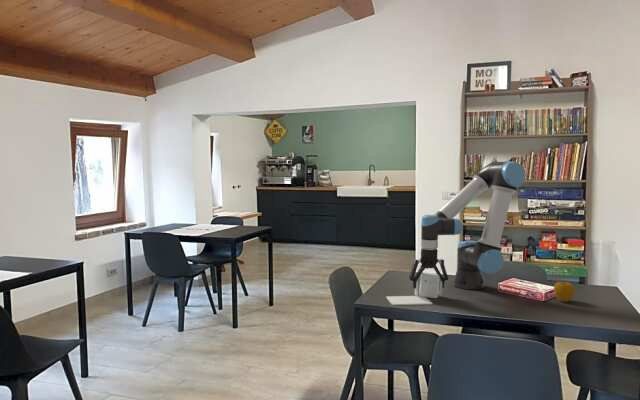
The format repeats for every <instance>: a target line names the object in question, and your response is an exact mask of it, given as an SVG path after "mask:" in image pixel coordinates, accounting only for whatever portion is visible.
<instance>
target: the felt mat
mask: <svg viewBox="0 0 640 400" xmlns="http://www.w3.org/2000/svg"><path fill="white" fill-rule="evenodd" d="M385 298H386V299H387V300H388V302H389V304H391V305H392V306H420V305H421V306H427V305H429V306H430V305H433V302H431V300H429V299H428V297H421V296H420V295H418V296H416V295H398V296H397V295H392V296H388V295H387V296H385Z"/></svg>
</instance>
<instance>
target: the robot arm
mask: <svg viewBox="0 0 640 400" xmlns="http://www.w3.org/2000/svg"><path fill="white" fill-rule="evenodd" d="M526 177H527V176H526V170H525V169H524V166H522V164H521V163H519V162H517V161H511V160H508V161H493V162H490V163H488V164H487V165H485V166H484V167H482V168H481V169H480V170H479V171H478V172H476V173H475V174H474V175H473V177H472V180H471V181H469V183H467V184H466V185H465V186H464V187H463V188H462V189H461V190H460V191H458V192H457V193H456V194H455V195H454V196H453V197H452V198H451V199H450V200H449V201H448V202H446V204H444V206H442V207H441V208H439V210H437V211H436V213H434V214H424V215H423V216H421V224H420V225H421V226H420V227H421V239H420V241H421V242H420V247H421V248H420V259H416V258H415V259H413V265H412V269H411V271H410V274H409V277H408V280H410V281H411V282H412V288H413V289H414V296H419V282H418V279H419V278H421V274H422V272H424V270H426V269H433V270H434V271H435V274H438V275H439V276H440V279H439V288H438V296H442V295H443V289H444V288H445V282H446V281H448V280H449V276H448V273H447V270H446V267H445V260H444V259H443V258H440V259H438V253H439V251H438V249H437V248H438V245H439V244H438V243H439V242H438V241H439V236H456V235H460V234H461V233H462V232H463V227H464V226H463V222H462V220H461V219H459V218H455V217H456V216H458V214H459V213H461V212H462V211H463V210H464V209H465V208H466V207H467V206H468V205H469V204H470V203H472V201H474V200H475V199H476V198H477V197H478V196H479V195H480V194H482V193H483V192H485V191H488V190H489V189H490V188H491V189H492V191H493V192H492V196H491V198H490V199H491V200H490V202H489V207H488V210H487V215H486V219H485V222H484V227H483V230H482V234H481V238H479V239H478V240H469V241H467V240H466V241H465V240H464V241H459V242H457V248H456V249H457V254H456V255H457V258H456V259H457V261H456V263H457V264H456V266H457V267H456V272H455V275H454V278H453V280H452V281H453V282H452V285H453V286H454V287H456V288H458V289H463V290H482V289H484V288H485V281H484V277H483V274H482V273H487V274H494V273H497V272H498V271H500V270H501V268H502V267H503V264H504V262H505V261H504V260H505V258H504V256H503V253H502V248H503V247H502V245H501V238H502V237H503V236H502V235H503V233H504V227H505V223H506V219H507V216H508V211H509V208H510V204H511V200H512V197H513V195H515V194H516V193H517V191H518V187H520V186H522V184H523V183H524V182H525V181H526ZM437 264H439V266H440V270H441V272H440V270H439V268H438V267H437ZM419 265H420V267H419V268H418V266H419ZM417 269H418V270H417Z"/></svg>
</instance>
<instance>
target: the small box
mask: <svg viewBox="0 0 640 400" xmlns="http://www.w3.org/2000/svg"><path fill="white" fill-rule="evenodd" d="M439 280H440V276H439V275H438V274H437V273H436V272H435V273H434V272H426V271H425V272H424V271H423V272H422V274H421V275H420V281H419V287H418V295H419V296H421V297H426V298H431V299H438V298H439V297H438V296H439V294H438V289H439Z"/></svg>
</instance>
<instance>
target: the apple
mask: <svg viewBox="0 0 640 400" xmlns="http://www.w3.org/2000/svg"><path fill="white" fill-rule="evenodd" d="M553 292H554V295H555V297H556V299H557V300H558V301H559V302H561V301H562V303H563V302H564V303H568V302H570V301H571V300H572V299H573V297H574V295H575V293H576V288H575V286H574V285H573V284H572V283H570V282H565V281H557V282H556V283H555V284H554V286H553Z"/></svg>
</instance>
